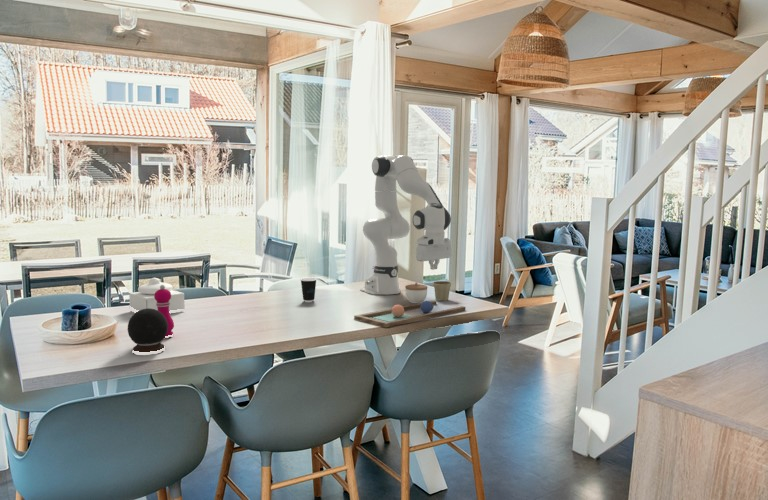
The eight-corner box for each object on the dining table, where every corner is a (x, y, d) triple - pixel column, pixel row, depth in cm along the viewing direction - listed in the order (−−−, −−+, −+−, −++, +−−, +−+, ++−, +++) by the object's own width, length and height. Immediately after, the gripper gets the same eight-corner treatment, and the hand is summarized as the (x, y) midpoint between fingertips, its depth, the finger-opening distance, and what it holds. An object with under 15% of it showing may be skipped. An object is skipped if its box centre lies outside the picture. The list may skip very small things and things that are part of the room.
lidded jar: (431, 301, 308) (432, 282, 307) (417, 305, 300) (417, 285, 299) (415, 298, 315) (415, 280, 314) (400, 302, 307) (400, 282, 306)
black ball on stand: (140, 358, 212) (138, 314, 210) (121, 351, 220) (119, 309, 219) (176, 350, 221) (174, 308, 220) (157, 344, 230) (155, 303, 228)
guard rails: (354, 319, 270) (354, 315, 270) (433, 303, 303) (433, 300, 303) (385, 327, 255) (385, 323, 255) (465, 310, 288) (465, 306, 288)
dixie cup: (306, 299, 314) (306, 277, 313) (320, 300, 311) (319, 278, 309) (297, 302, 307) (297, 279, 306) (311, 303, 303) (310, 280, 302)
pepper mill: (157, 335, 243) (155, 283, 241) (176, 334, 244) (174, 283, 242) (152, 339, 236) (149, 286, 234) (171, 339, 237) (169, 286, 234)
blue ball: (427, 297, 285) (423, 307, 287) (419, 300, 280) (416, 310, 283) (436, 303, 282) (433, 313, 284) (429, 306, 278) (426, 316, 280)
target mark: (372, 317, 273) (372, 317, 273) (395, 313, 282) (395, 312, 282) (394, 323, 262) (394, 322, 262) (418, 318, 272) (418, 317, 272)
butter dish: (167, 306, 297) (165, 273, 296) (185, 312, 285) (183, 277, 283) (129, 312, 285) (128, 277, 283) (147, 318, 272) (145, 282, 271)
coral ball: (396, 301, 276) (400, 311, 278) (387, 308, 273) (391, 318, 275) (404, 303, 272) (408, 313, 274) (395, 310, 269) (399, 320, 271)
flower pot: (451, 298, 317) (451, 281, 316) (451, 301, 308) (451, 284, 307) (432, 297, 318) (432, 280, 317) (432, 301, 308) (432, 284, 307)
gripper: (445, 236, 298) (444, 265, 300) (414, 240, 284) (413, 270, 286) (455, 238, 293) (454, 267, 295) (424, 241, 280) (423, 272, 282)
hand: (433, 269), depth 291 cm, fingers closed
